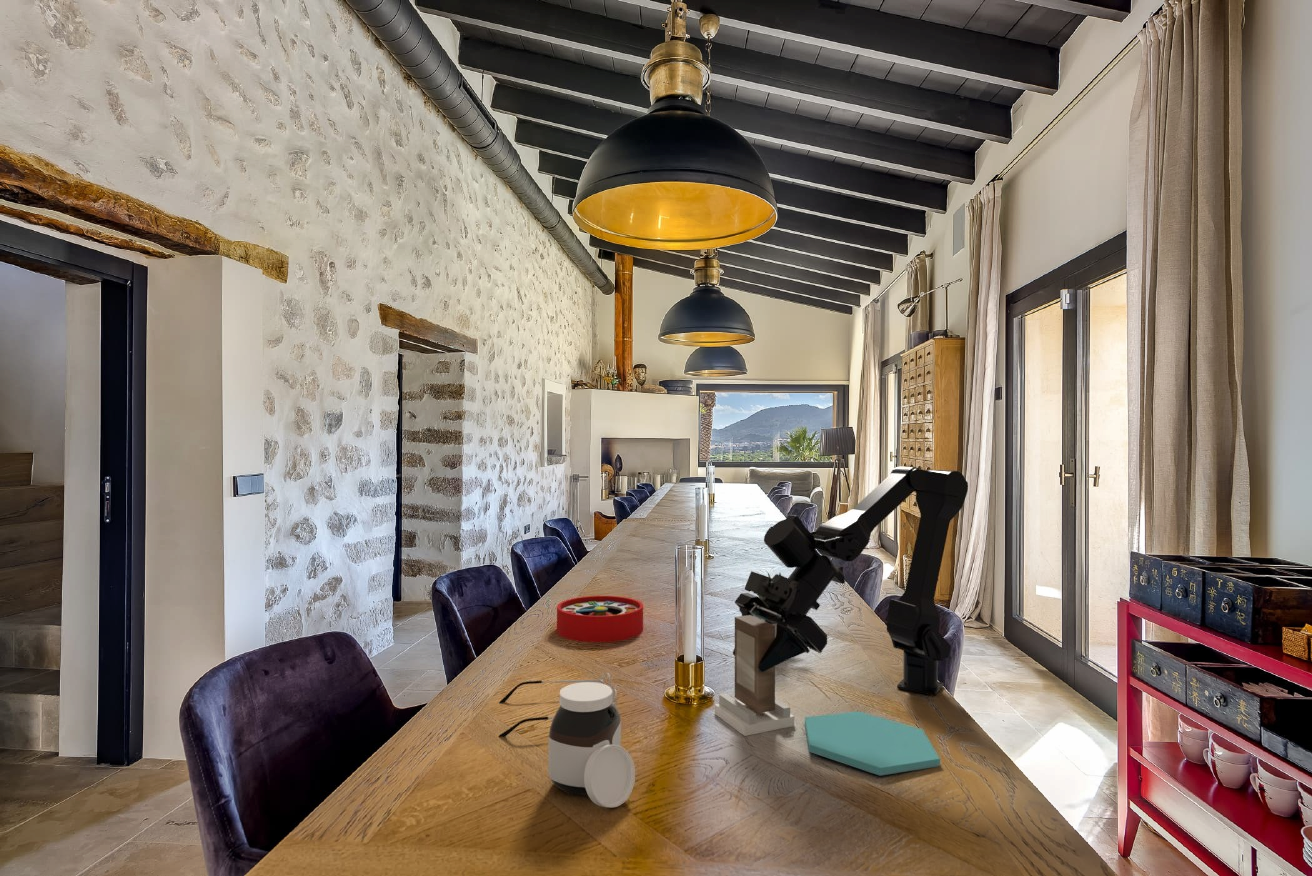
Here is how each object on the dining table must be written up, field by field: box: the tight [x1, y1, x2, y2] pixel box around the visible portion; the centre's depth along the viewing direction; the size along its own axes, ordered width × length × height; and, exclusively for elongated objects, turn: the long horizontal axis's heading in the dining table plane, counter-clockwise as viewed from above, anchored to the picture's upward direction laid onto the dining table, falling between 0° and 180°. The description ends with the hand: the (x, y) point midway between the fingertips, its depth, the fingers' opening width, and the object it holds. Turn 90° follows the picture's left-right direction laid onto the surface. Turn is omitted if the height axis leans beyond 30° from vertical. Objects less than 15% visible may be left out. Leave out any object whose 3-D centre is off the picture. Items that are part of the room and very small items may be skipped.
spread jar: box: [547, 682, 636, 809], centre depth 86 cm, size 12×11×12 cm
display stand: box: [714, 692, 795, 737], centre depth 107 cm, size 9×9×3 cm
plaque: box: [804, 710, 941, 776], centre depth 99 cm, size 18×2×20 cm
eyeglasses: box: [498, 672, 618, 738], centre depth 109 cm, size 16×19×5 cm
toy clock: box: [556, 595, 644, 643], centre depth 158 cm, size 20×6×20 cm
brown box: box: [734, 615, 776, 713], centre depth 107 cm, size 3×7×13 cm, turn 24°
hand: (746, 662), depth 107 cm, fingers closed on brown box, 7 cm apart
